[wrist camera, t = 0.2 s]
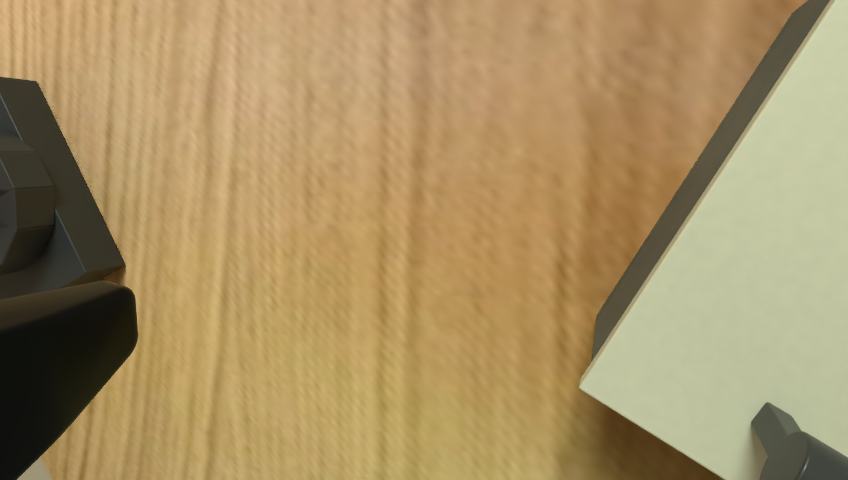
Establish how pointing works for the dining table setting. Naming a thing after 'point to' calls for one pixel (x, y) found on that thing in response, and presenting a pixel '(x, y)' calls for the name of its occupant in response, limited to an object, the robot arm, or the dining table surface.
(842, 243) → the washer lid
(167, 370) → the dining table surface
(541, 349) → the dining table surface
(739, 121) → the drawer
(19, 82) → the control block
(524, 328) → the dining table surface
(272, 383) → the dining table surface
